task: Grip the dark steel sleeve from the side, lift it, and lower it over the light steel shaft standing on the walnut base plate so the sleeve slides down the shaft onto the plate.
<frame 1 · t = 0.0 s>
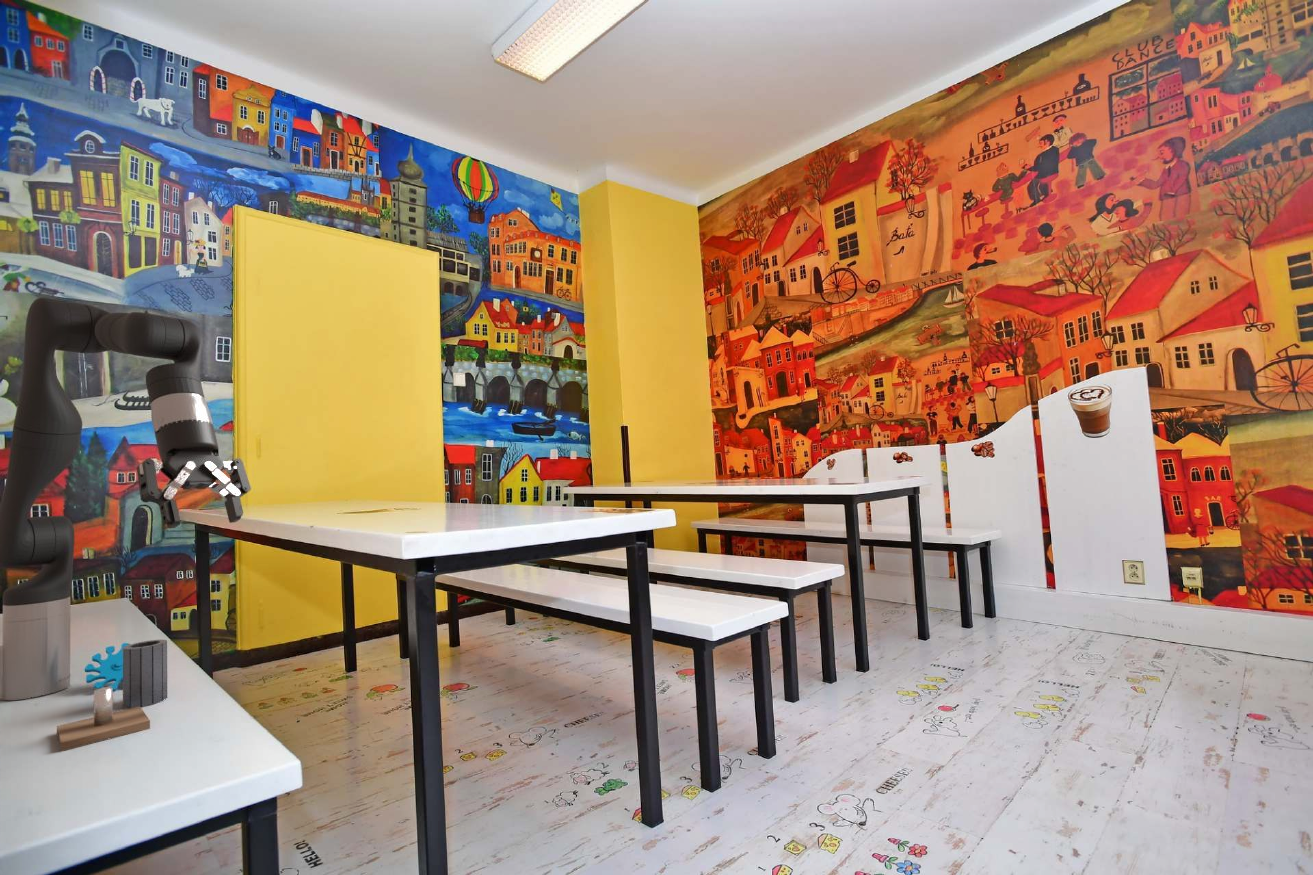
hand: (206, 523, 95), 31 cm above the table, tool tilted 20°, fingers open, 8 cm apart
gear: (123, 687, 120), on the table
base plate: (103, 731, 97), on the table
sleeve: (145, 701, 110), on the table
shaft: (103, 706, 97), on the base plate, point 4 cm above the table
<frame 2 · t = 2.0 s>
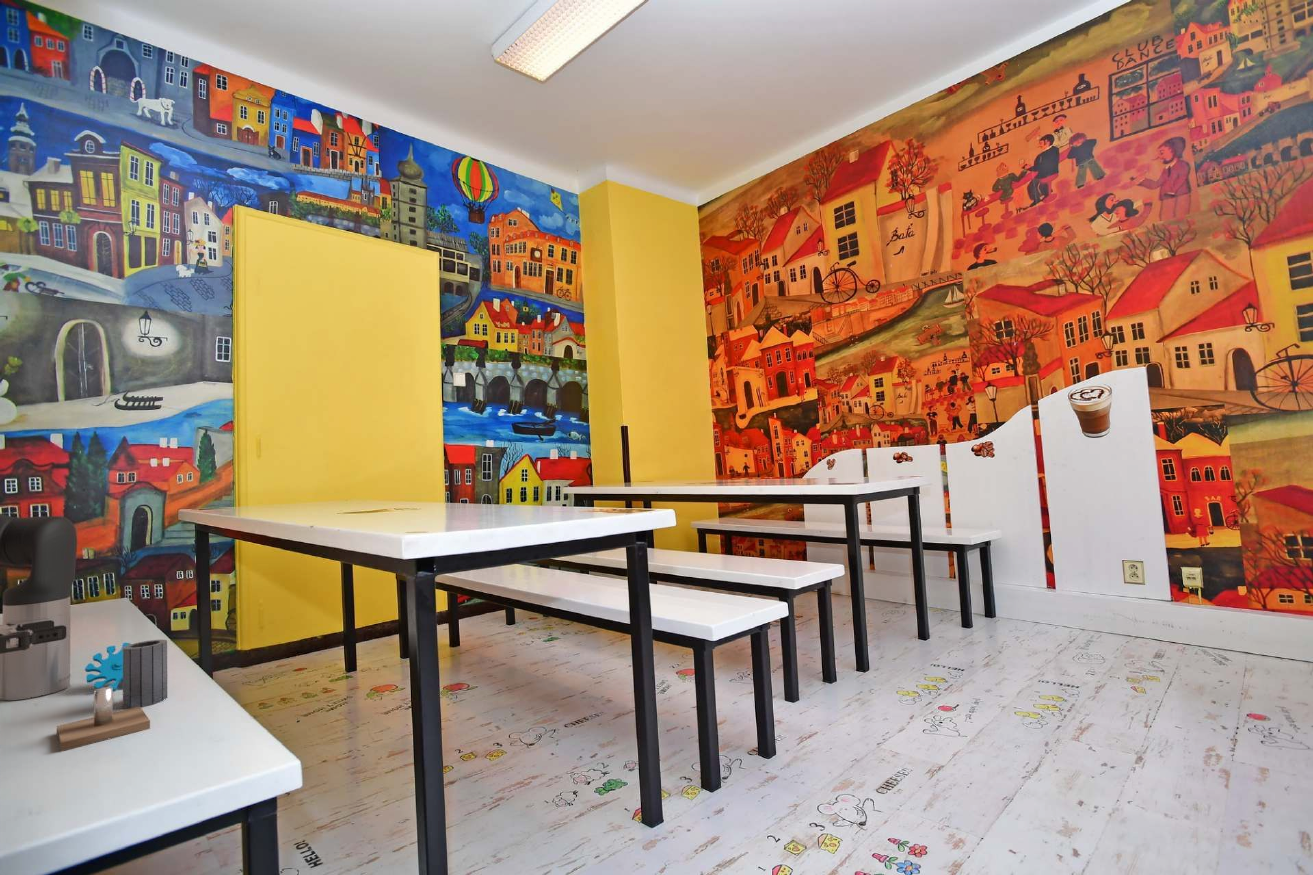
hand: (59, 629, 102), 15 cm above the table, tool horizontal, fingers open, 8 cm apart
nothing on the table moved.
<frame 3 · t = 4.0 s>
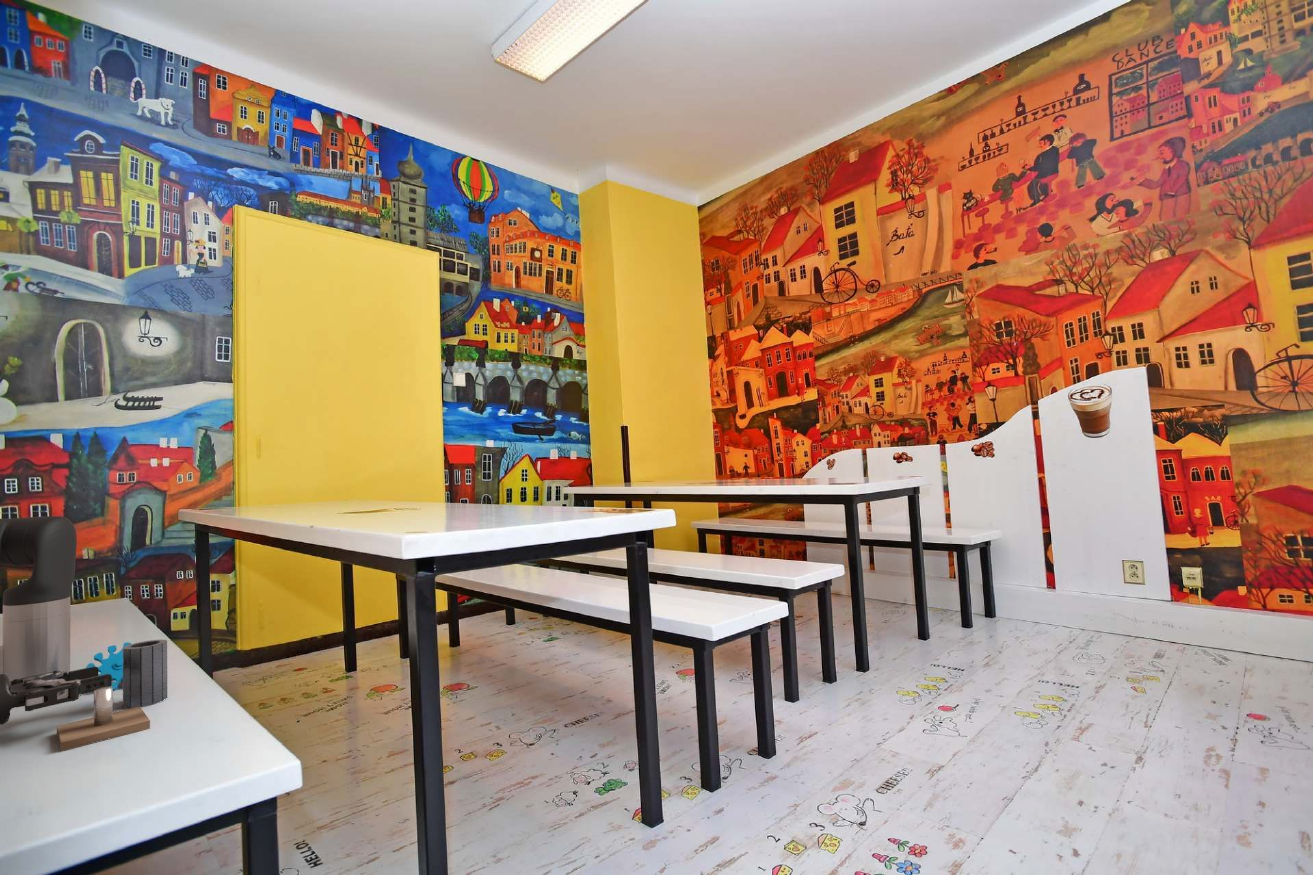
hand: (104, 676, 106), 6 cm above the table, tool horizontal, fingers open, 8 cm apart
nothing on the table moved.
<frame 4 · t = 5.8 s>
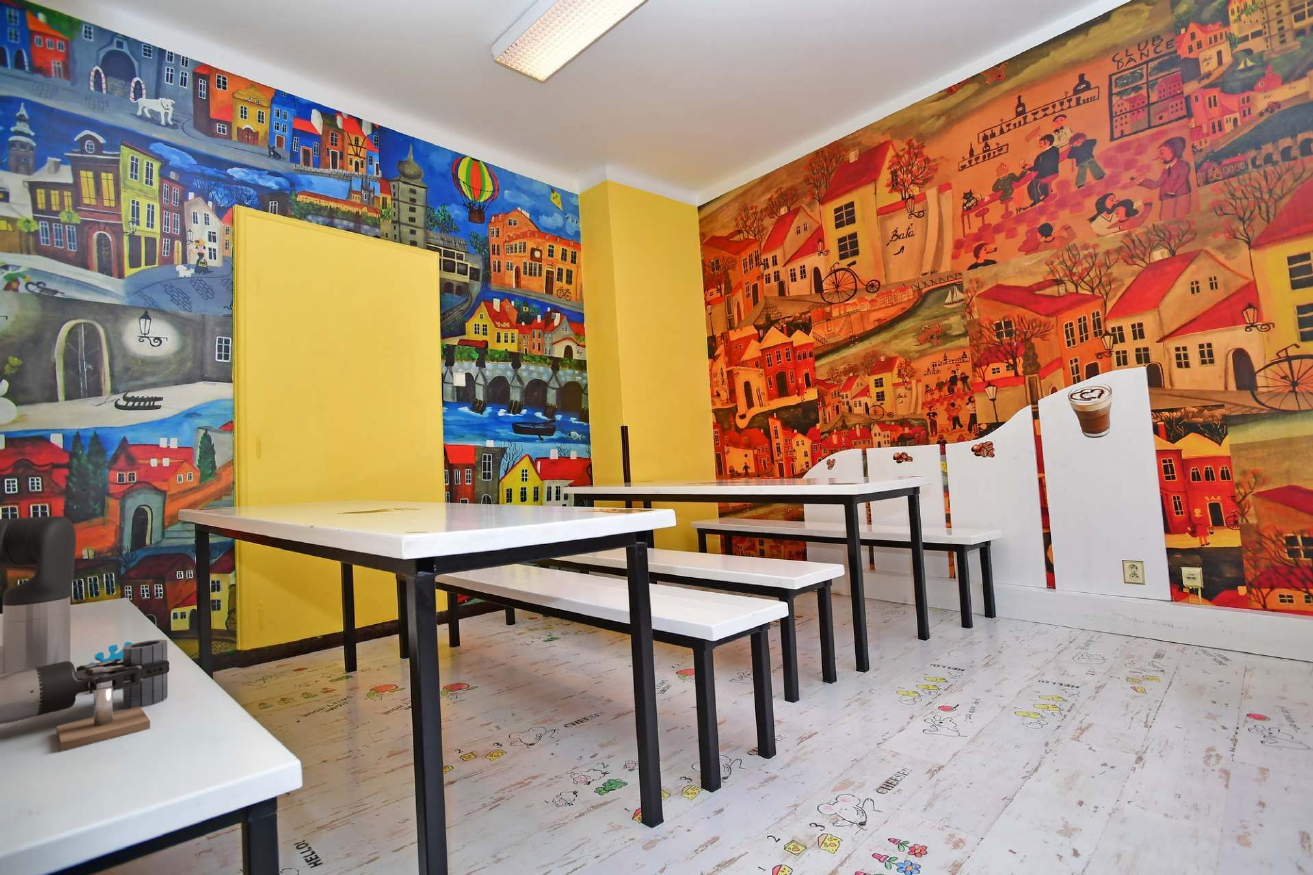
hand: (161, 663, 112), 6 cm above the table, tool horizontal, fingers closed on sleeve, 6 cm apart
sleeve: (145, 701, 110), on the table, touching gripper
everything else where it was.
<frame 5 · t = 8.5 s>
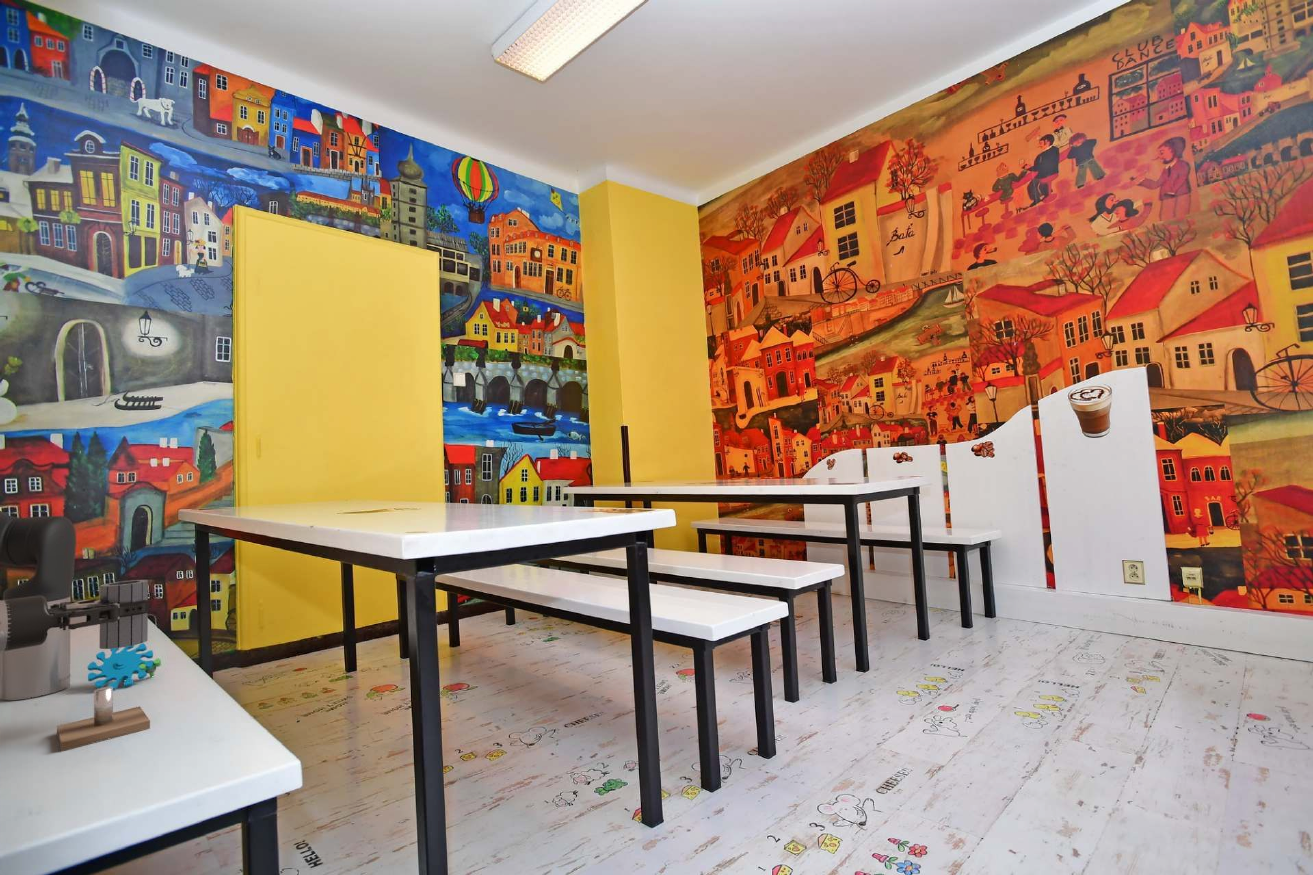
hand: (141, 604, 106), 18 cm above the table, tool horizontal, fingers closed on sleeve, 6 cm apart
sleeve: (123, 643, 104), point 12 cm above the table, touching gripper
everything else where it was.
when the fingers open (9 cm above the table, at t = 11.2 s): sleeve drops 1 cm, resting on base plate.
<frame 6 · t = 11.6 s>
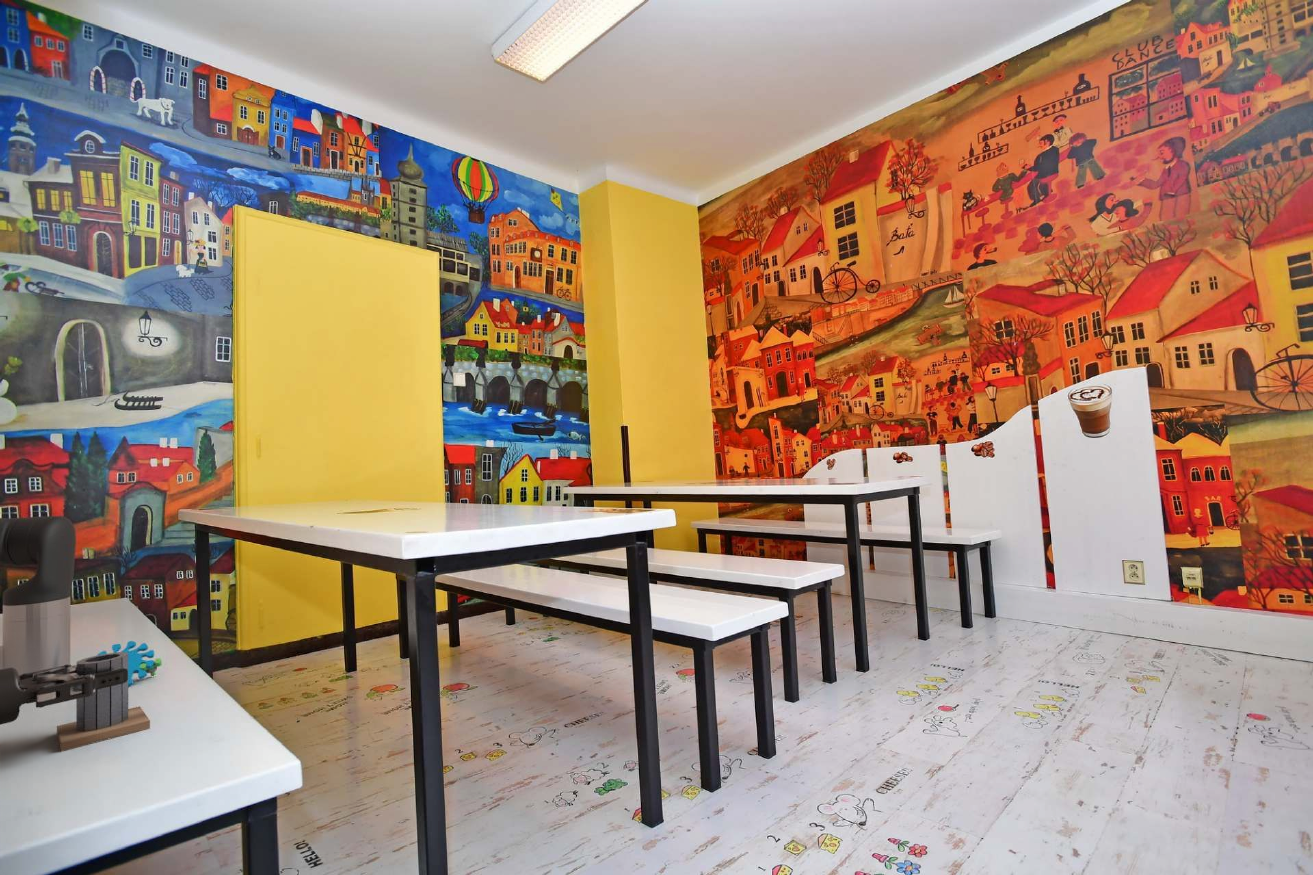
hand: (119, 670, 99), 9 cm above the table, tool horizontal, fingers open, 8 cm apart
sleeve: (102, 723, 97), point 1 cm above the table, touching base plate
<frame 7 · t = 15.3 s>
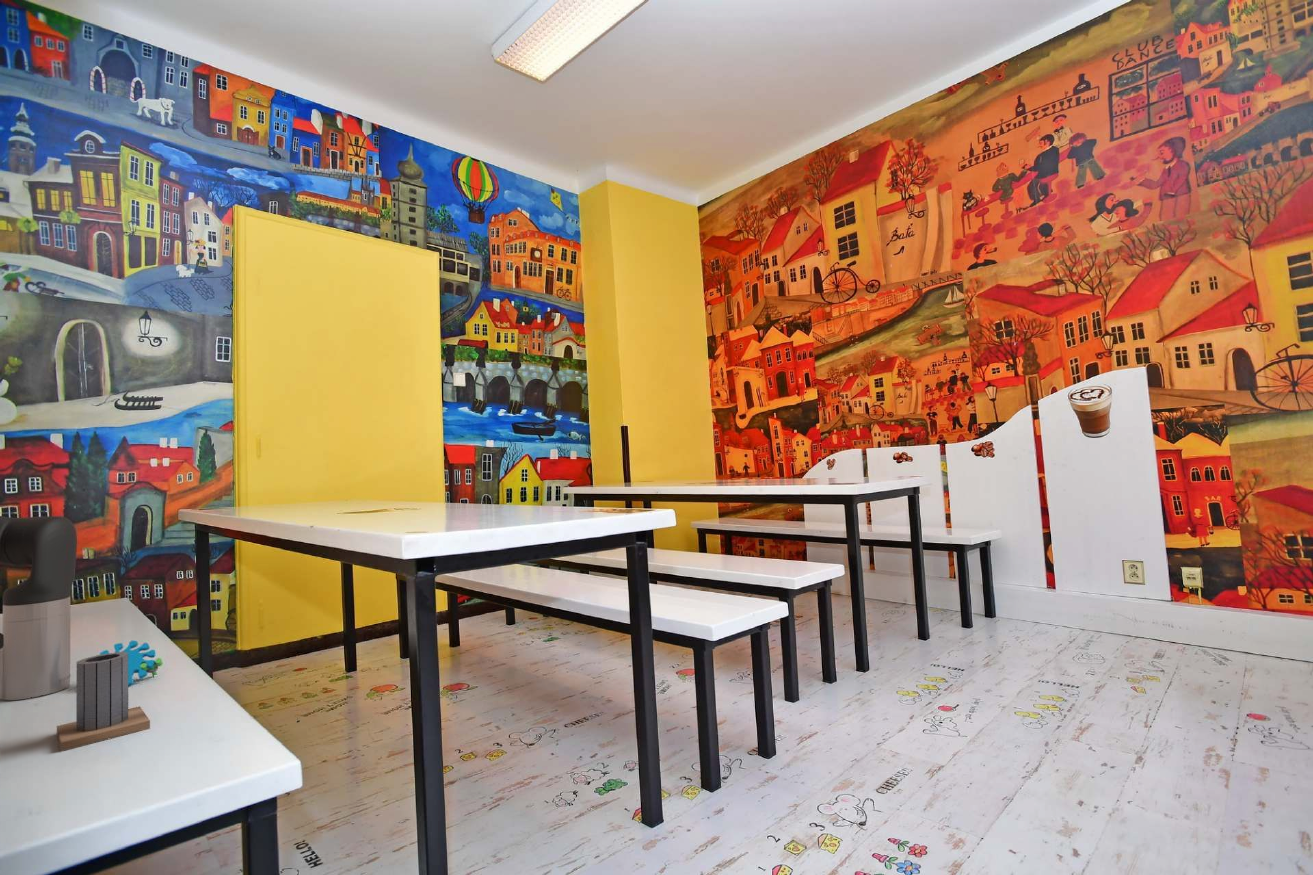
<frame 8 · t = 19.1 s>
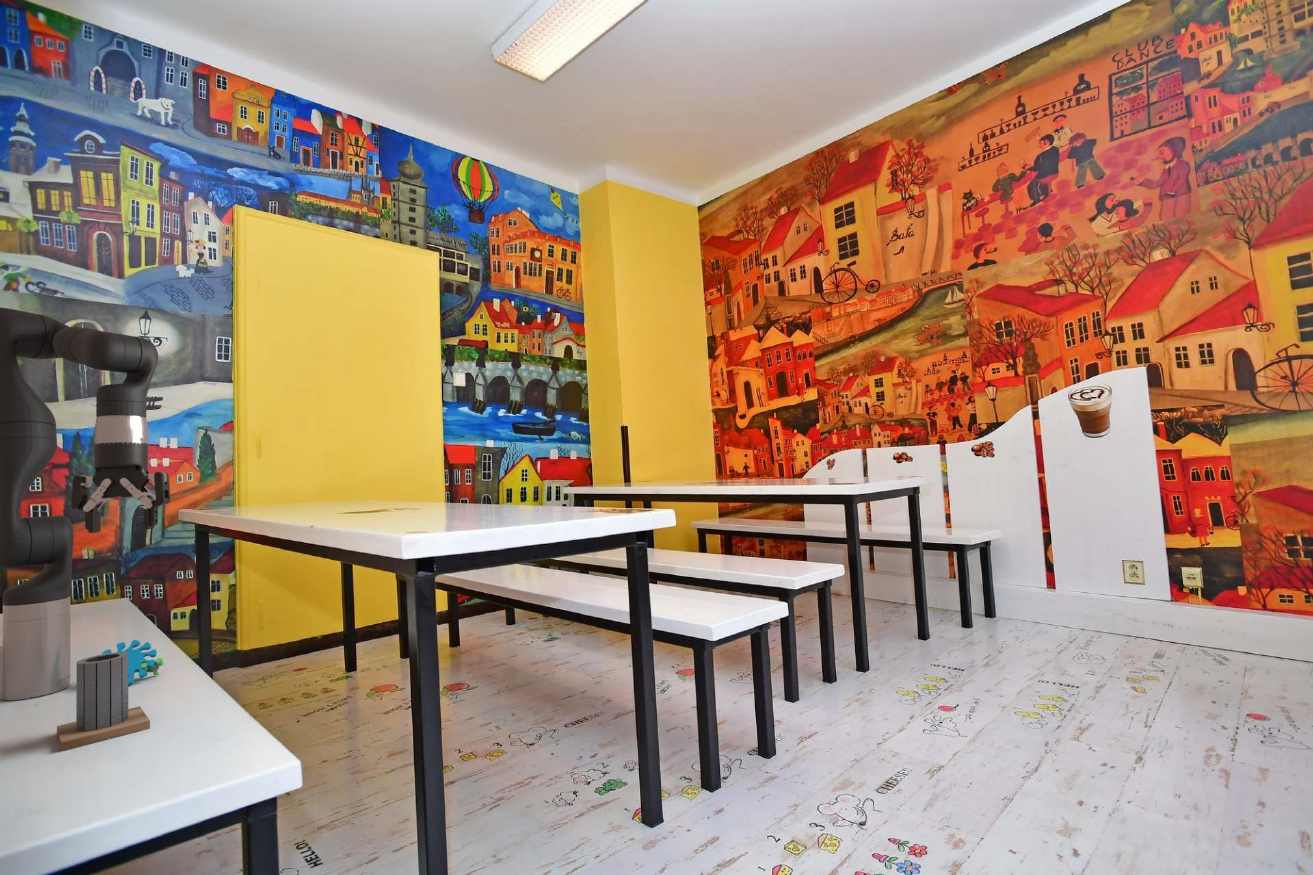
hand: (122, 530, 113), 30 cm above the table, tool pointing down, fingers open, 8 cm apart
at the end: sleeve 0.1 cm from the shaft (horizontally); sleeve point 1.2 cm above the table; the gripper is holding nothing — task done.
